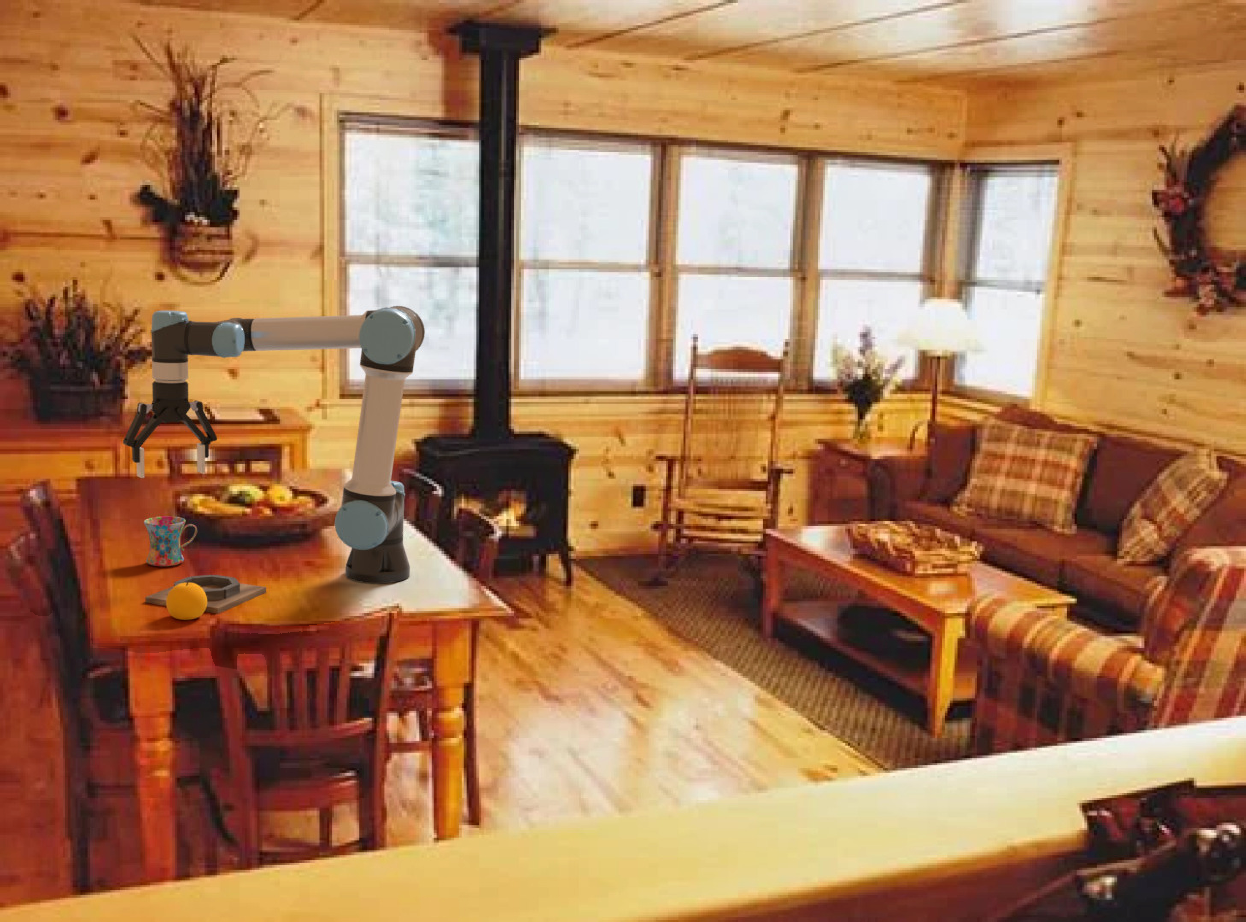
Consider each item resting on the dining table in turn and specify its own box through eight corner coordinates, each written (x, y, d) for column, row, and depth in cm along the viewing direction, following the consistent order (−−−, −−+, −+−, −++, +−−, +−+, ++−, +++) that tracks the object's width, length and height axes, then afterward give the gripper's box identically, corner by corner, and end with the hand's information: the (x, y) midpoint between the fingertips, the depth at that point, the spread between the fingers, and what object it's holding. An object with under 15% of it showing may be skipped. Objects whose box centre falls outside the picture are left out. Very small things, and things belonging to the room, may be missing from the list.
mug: (147, 570, 289) (147, 526, 288) (141, 560, 297) (141, 517, 295) (201, 566, 295) (200, 522, 293) (193, 556, 303) (193, 514, 301)
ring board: (266, 592, 277) (266, 578, 276) (218, 613, 260) (218, 598, 259) (196, 582, 282) (196, 568, 281) (145, 602, 265) (145, 588, 264)
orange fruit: (158, 619, 254) (157, 584, 253) (184, 610, 261) (183, 575, 260) (189, 625, 251) (189, 590, 250) (215, 615, 258) (215, 581, 257)
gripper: (218, 377, 286) (219, 467, 289) (106, 380, 270) (108, 475, 273) (231, 381, 280) (231, 473, 284) (118, 384, 264) (119, 481, 268)
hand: (171, 474), depth 278 cm, fingers open, 13 cm apart
